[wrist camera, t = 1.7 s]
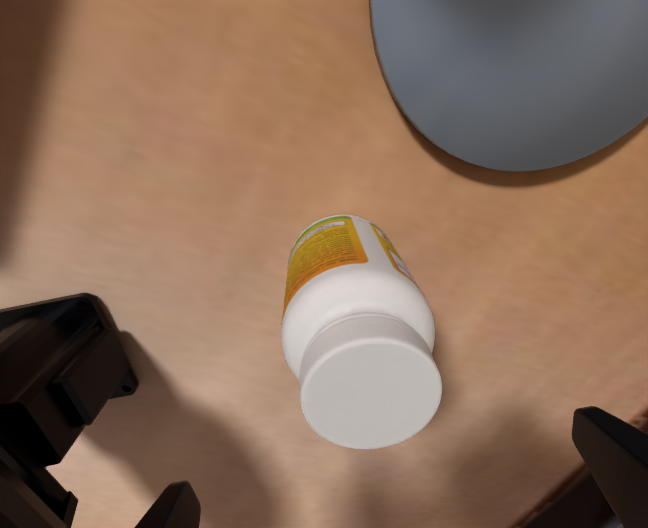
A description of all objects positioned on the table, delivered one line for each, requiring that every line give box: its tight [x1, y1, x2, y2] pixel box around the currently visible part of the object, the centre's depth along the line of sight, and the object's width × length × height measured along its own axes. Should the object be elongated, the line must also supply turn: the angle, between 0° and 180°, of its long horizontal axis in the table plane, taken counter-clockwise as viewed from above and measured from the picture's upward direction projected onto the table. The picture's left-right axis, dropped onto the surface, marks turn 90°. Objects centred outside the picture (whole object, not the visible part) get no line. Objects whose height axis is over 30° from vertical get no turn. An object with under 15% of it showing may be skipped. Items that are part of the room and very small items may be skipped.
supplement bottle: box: [281, 215, 442, 450], centre depth 15 cm, size 5×5×10 cm
